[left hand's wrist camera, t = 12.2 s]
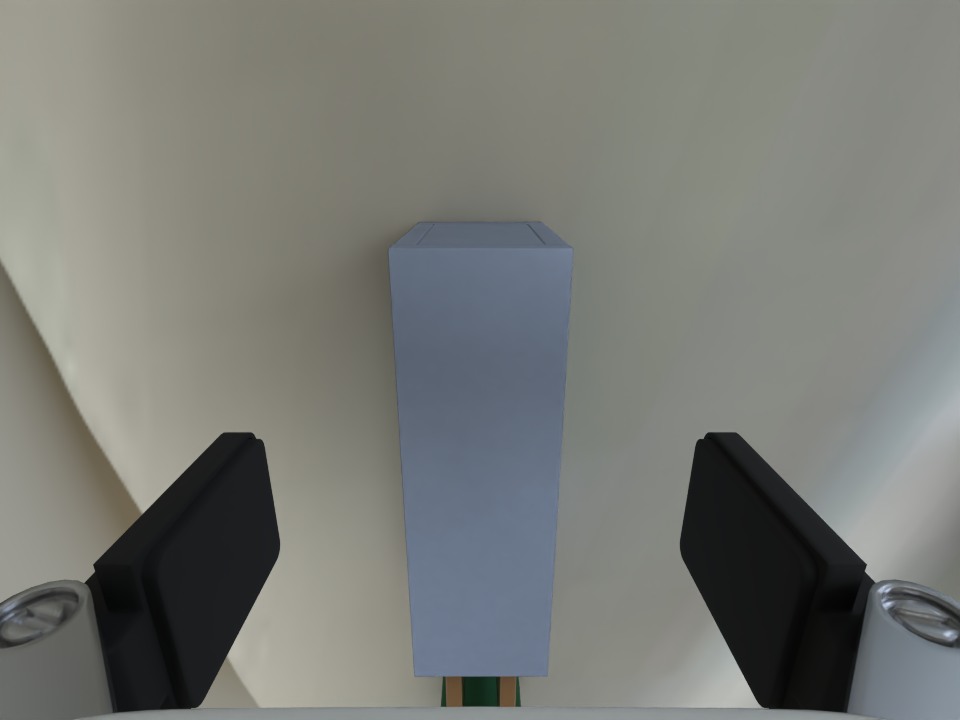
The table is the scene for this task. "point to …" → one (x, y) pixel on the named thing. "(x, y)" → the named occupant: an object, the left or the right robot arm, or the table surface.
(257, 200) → the table surface
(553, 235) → the blue-grey rectangular block
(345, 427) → the table surface
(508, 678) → the drawer
